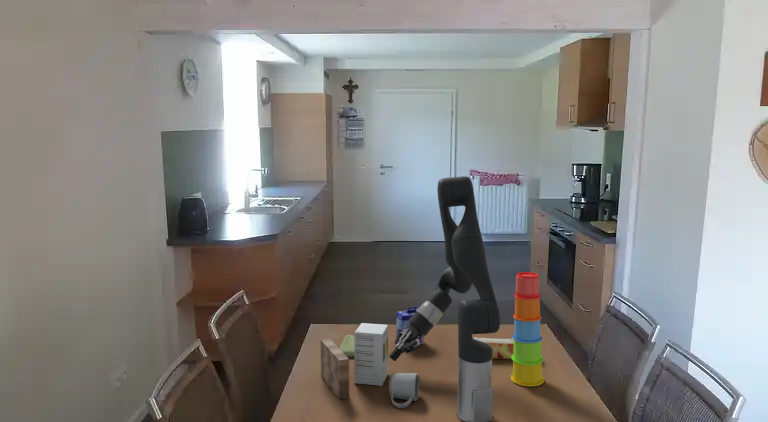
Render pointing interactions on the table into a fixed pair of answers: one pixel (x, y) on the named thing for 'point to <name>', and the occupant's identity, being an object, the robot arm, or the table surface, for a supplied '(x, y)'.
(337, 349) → the wooden board
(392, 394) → the ceramic mug
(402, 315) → the ink cartridge box
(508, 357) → the snack package
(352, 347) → the washcloth
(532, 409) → the table surface
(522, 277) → the stacking cups
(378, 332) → the supplement box
